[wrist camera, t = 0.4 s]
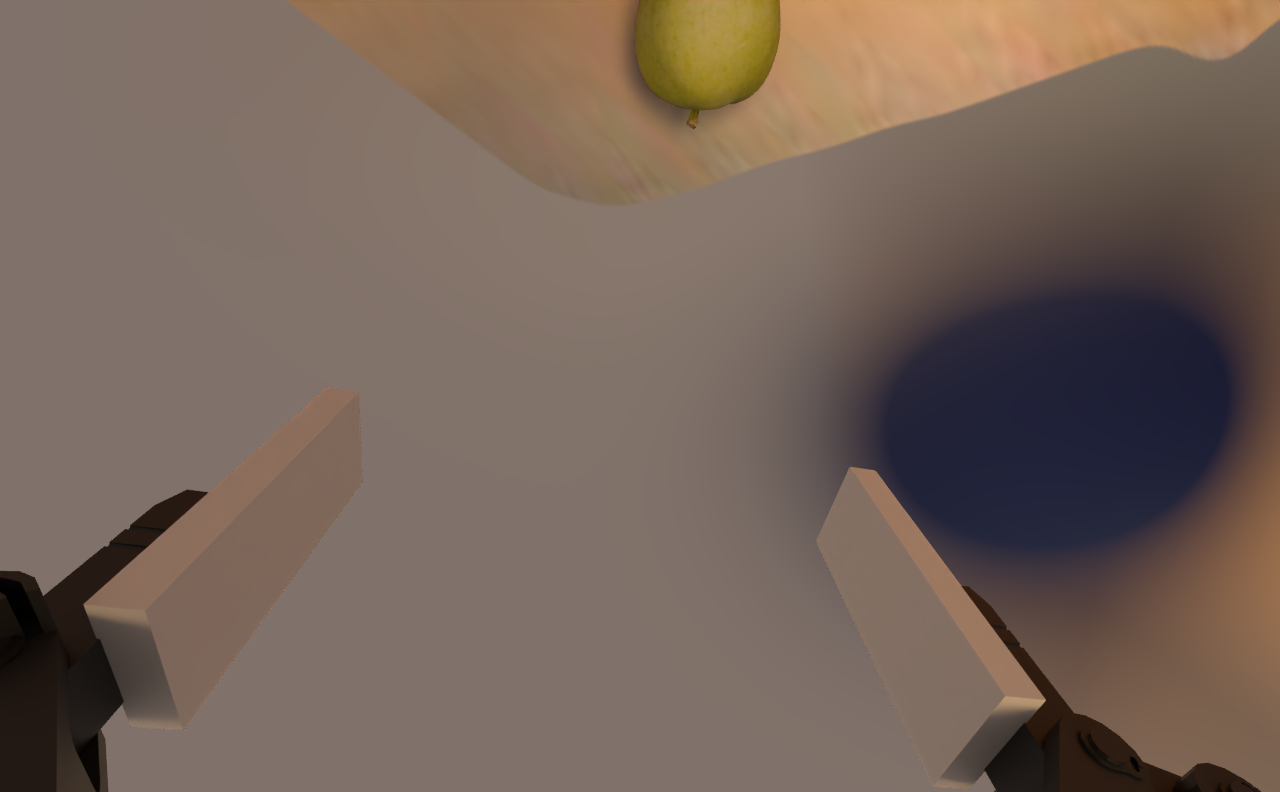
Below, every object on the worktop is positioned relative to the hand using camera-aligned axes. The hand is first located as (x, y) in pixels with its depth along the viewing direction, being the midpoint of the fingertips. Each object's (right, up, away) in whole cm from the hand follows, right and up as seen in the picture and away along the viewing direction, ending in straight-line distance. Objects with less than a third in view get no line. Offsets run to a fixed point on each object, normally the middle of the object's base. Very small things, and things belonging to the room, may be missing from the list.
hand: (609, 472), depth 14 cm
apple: (+4, +24, +18) cm, 30 cm away
